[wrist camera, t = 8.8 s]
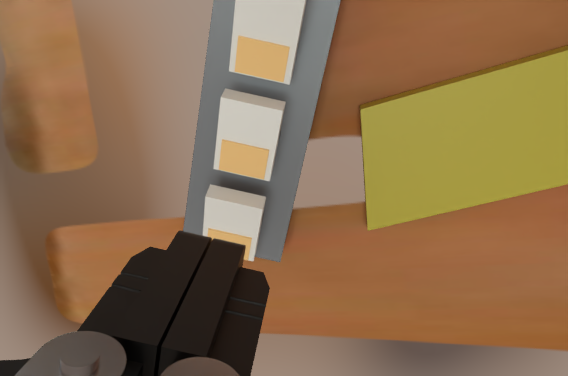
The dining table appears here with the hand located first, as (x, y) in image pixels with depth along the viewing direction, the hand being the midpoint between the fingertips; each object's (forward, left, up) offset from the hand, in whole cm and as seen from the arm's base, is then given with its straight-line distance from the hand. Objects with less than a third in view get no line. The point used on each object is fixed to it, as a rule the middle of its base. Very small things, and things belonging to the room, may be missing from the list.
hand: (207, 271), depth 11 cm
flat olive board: (+4, +17, -38) cm, 42 cm away
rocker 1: (-2, -3, -30) cm, 30 cm away
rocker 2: (+7, -3, -30) cm, 31 cm away
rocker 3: (+15, -3, -30) cm, 34 cm away
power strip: (+3, -3, -37) cm, 37 cm away
